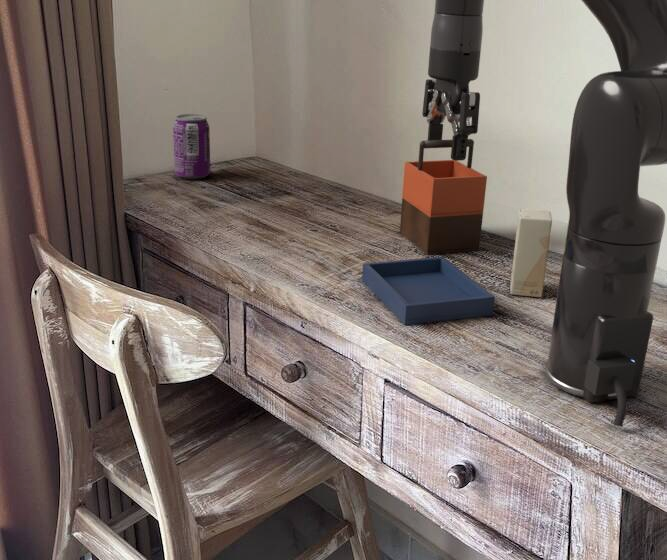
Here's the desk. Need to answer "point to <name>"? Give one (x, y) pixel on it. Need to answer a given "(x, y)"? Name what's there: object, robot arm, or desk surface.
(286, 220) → the desk surface
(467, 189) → the top basket
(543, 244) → the box
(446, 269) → the tray
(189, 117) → the beverage can
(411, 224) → the box
